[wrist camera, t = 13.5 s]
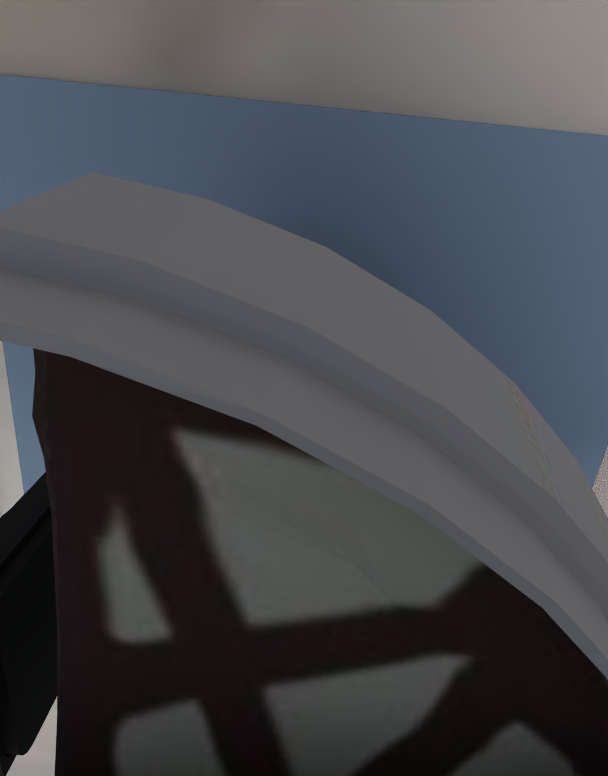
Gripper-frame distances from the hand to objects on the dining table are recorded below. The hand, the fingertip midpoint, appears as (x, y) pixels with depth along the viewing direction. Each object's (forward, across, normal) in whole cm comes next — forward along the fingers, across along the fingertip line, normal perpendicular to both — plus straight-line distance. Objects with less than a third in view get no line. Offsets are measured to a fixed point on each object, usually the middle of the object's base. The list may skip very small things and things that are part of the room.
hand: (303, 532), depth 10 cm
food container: (+4, -1, 0) cm, 4 cm away
